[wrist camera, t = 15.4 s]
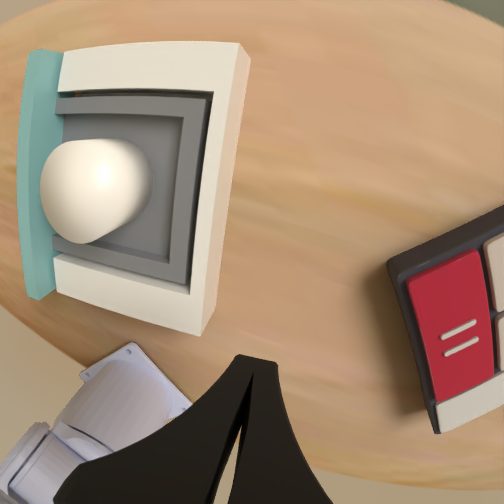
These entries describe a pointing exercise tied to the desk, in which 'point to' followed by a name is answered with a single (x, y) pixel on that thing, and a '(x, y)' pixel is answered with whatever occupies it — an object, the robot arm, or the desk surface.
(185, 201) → the tray
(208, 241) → the dock
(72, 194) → the white dome-topped cylinder
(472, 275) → the calculator
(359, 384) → the desk surface
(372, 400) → the desk surface
